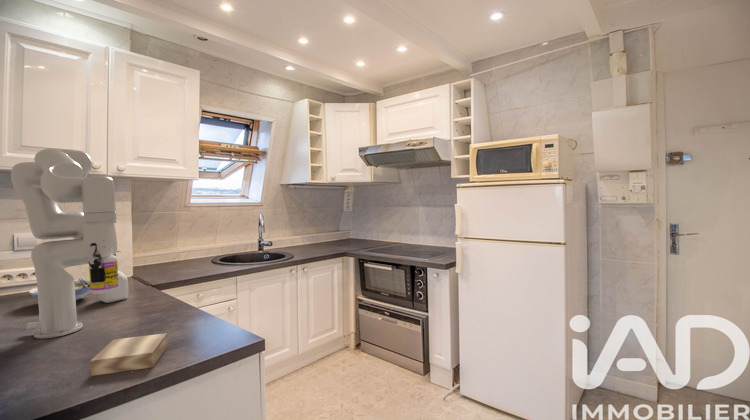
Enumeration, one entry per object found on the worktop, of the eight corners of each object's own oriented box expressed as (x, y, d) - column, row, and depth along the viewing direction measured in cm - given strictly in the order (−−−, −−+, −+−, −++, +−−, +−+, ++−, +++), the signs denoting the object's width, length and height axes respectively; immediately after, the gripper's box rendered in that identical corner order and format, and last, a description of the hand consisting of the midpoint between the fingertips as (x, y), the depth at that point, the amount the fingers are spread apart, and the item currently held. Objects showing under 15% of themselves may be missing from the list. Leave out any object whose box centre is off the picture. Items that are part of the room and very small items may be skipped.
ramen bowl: (29, 302, 157) (28, 284, 157) (94, 291, 173) (93, 275, 173) (29, 315, 139) (27, 295, 139) (101, 302, 155) (100, 283, 155)
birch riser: (91, 375, 90) (90, 360, 90) (114, 352, 104) (113, 339, 103) (152, 367, 94) (152, 352, 94) (167, 345, 108) (167, 333, 107)
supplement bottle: (103, 294, 99) (100, 249, 98) (84, 294, 100) (81, 249, 99) (124, 288, 105) (122, 246, 105) (106, 288, 107) (104, 246, 106)
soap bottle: (130, 298, 160) (127, 249, 158) (105, 304, 151) (102, 252, 150) (121, 295, 165) (118, 247, 164) (96, 301, 157) (93, 251, 156)
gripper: (99, 218, 109) (103, 274, 110) (68, 221, 92) (72, 287, 93) (127, 216, 111) (130, 272, 112) (101, 219, 94) (105, 284, 95)
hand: (104, 278), depth 102 cm, fingers closed on supplement bottle, 6 cm apart
